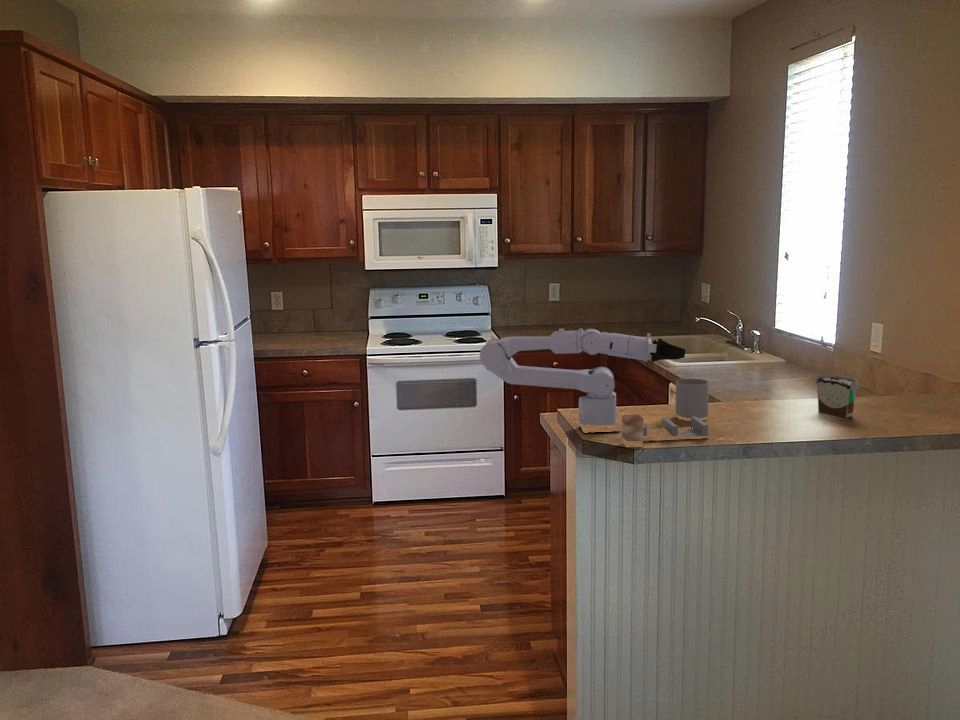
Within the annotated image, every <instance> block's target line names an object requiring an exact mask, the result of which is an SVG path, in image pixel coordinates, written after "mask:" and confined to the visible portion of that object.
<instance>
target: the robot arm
mask: <svg viewBox="0 0 960 720" xmlns="http://www.w3.org/2000/svg"><path fill="white" fill-rule="evenodd" d="M651 335H652V334H651V333H646V337H644V336H637V335H629V334H624V333H617V332H610V333H609V332H606V331H604V332H602V331H601V332H600V331H599V330H597V329H595V328H586V329H583V328H579V329H578V330H565V328H558V331H557V330H556V331H553V332H552V333H551V334H550V336H505V337H501V338H492V339H489V340H488V341H487V342H486V344H484V345H483V346H482V348H481V349H480V352H479V359H480V361H481V363H482V365H483V366H484V368H485V369H486V371H488V372H491V373H493V374H494V375H496V376H497V377H498V378H499V379H501V381H504V382H505V383H507V384H509V385H522V386H530V387H531V386H532V387H544V388H557V389H569V390H571V389H572V390H577V391H580V392H583V393H587V395H586V396H580V397H579V398H578V422H579V421H580V423H582V424H583V425H587V424H589V425H614V424H616V425H617V393H616V392H615V391H614V389H615V388H616V387H615V386H616V385H615V377H614V373H613V372H612V370H611V369H610V368H608V367H605V366H599V367H595V368H592V369H588V368H587V369H568V368H567V369H566V368H565V369H564V368H555V367H554V368H552V367H541V366H540V367H539V366H529V365H518V364H517V361H515V359H514V358H513V356H514V355H516V353H518V352H520V351H521V352H522V351H537V350H538V351H540V350H550V351H552V352H553V354H556V355H557V354H580V353H581V352H585V353H586V354H589V355H590V356H592V355H593V356H594V355H598V354H603V355H607V356H611V357H612V356H613V357H618V358H626V359H632V360H639V361H643V362H648V360H649V358H650V357H651V358H650V363H653V362H657V361H664V360H667V361H668V360H669V361H670V360H671V361H672V360H680V359H684V358H685V356H686V349H685V348H683V347H679V346H677V345H674V344H671V343H668V342H667V341H665V340H664V339H663V338H661V337H658V338H657V340H653V341H652V339H651Z"/></svg>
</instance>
